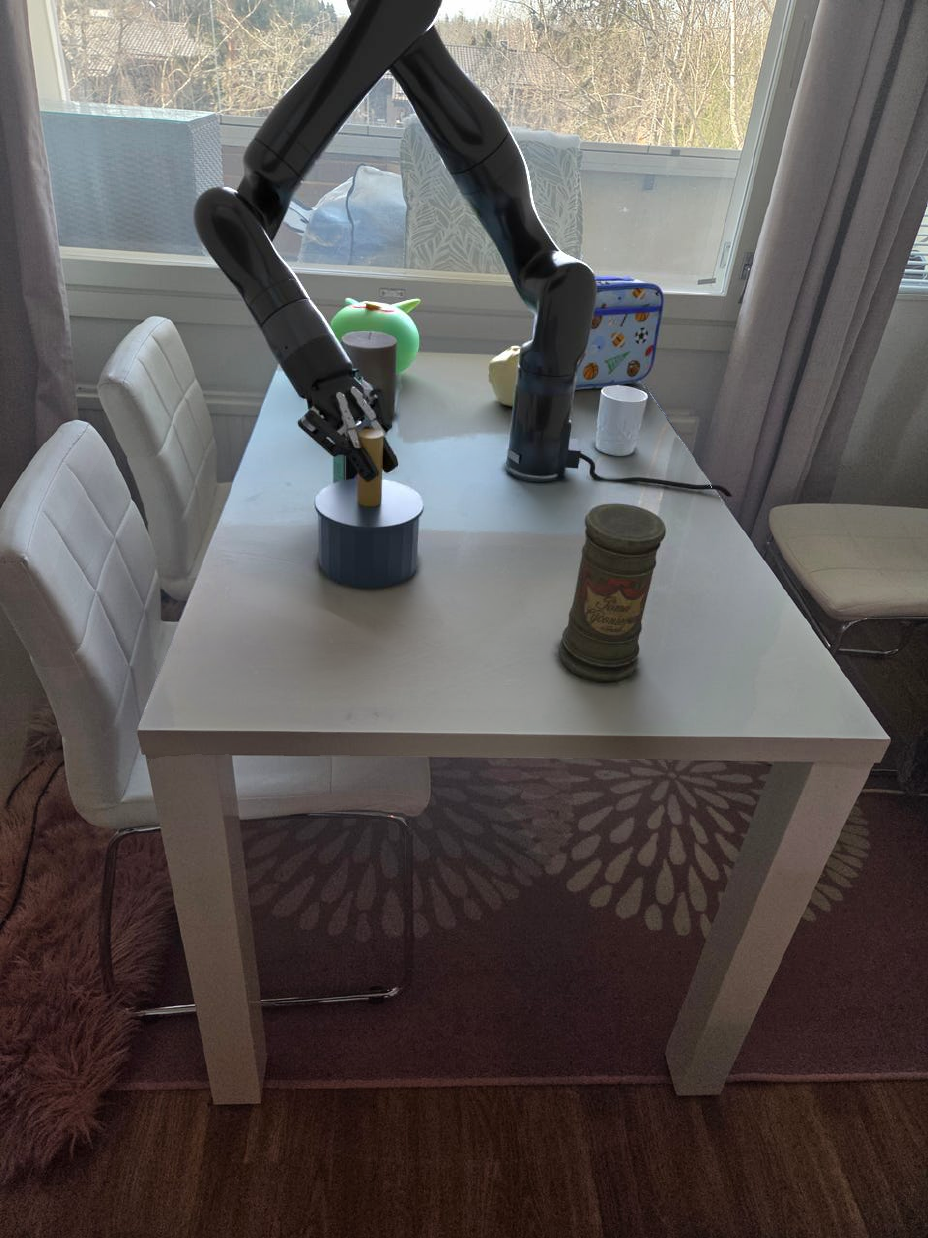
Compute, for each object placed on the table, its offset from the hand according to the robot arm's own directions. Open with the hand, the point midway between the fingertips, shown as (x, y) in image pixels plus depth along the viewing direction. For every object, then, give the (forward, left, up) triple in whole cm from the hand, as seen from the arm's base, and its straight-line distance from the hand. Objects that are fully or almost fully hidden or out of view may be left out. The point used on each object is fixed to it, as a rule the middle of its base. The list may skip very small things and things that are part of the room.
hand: (383, 473), depth 104 cm
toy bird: (+8, -76, -14) cm, 78 cm away
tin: (+2, -1, -13) cm, 14 cm away
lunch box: (-36, -80, -14) cm, 89 cm away
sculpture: (-21, -65, -14) cm, 70 cm away
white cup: (-37, -46, -14) cm, 61 cm away
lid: (+2, -1, -5) cm, 5 cm away
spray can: (+6, -18, -14) cm, 23 cm away
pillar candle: (+7, -53, -14) cm, 55 cm away
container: (-26, +17, -14) cm, 34 cm away
